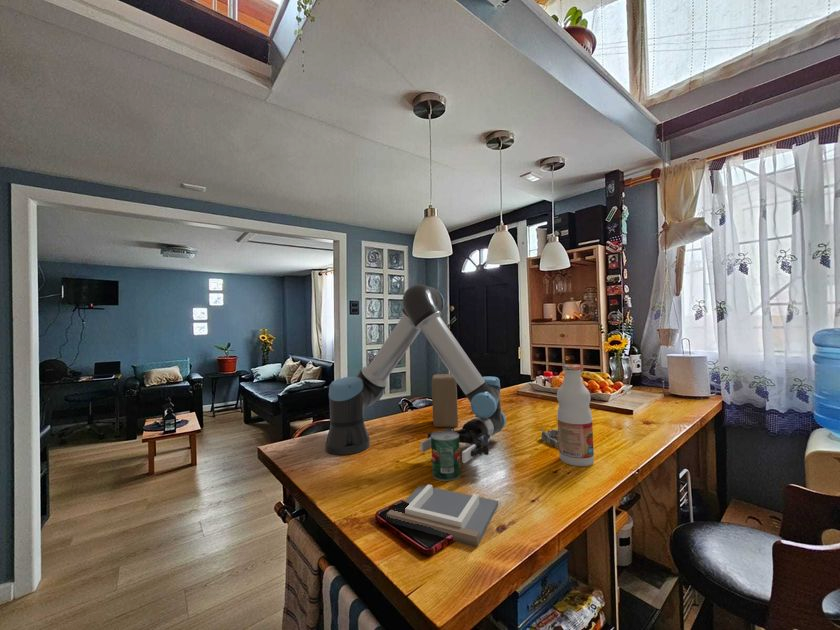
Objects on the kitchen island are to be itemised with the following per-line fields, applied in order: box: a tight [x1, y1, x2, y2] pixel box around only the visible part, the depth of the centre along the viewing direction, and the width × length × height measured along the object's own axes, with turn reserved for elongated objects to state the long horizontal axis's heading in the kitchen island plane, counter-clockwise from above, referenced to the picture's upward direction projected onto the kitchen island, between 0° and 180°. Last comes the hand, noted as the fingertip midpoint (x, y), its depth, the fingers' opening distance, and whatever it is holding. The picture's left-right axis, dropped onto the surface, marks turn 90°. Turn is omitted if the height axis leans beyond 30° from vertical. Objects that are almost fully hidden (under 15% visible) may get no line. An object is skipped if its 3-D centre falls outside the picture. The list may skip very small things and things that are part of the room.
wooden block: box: [431, 373, 459, 428], centre depth 142 cm, size 10×10×20 cm
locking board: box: [386, 484, 499, 548], centre depth 76 cm, size 20×16×3 cm
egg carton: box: [539, 428, 559, 448], centre depth 116 cm, size 11×8×4 cm
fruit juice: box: [556, 364, 595, 467], centre depth 101 cm, size 9×9×28 cm
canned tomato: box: [430, 430, 461, 482], centre depth 95 cm, size 8×8×11 cm
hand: (441, 452), depth 93 cm, fingers open, 13 cm apart
